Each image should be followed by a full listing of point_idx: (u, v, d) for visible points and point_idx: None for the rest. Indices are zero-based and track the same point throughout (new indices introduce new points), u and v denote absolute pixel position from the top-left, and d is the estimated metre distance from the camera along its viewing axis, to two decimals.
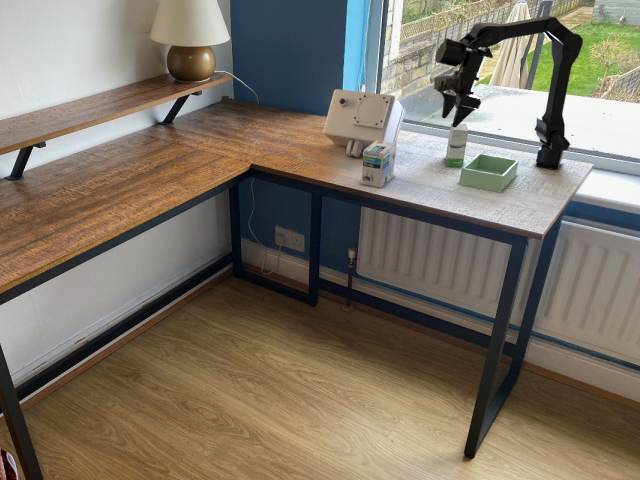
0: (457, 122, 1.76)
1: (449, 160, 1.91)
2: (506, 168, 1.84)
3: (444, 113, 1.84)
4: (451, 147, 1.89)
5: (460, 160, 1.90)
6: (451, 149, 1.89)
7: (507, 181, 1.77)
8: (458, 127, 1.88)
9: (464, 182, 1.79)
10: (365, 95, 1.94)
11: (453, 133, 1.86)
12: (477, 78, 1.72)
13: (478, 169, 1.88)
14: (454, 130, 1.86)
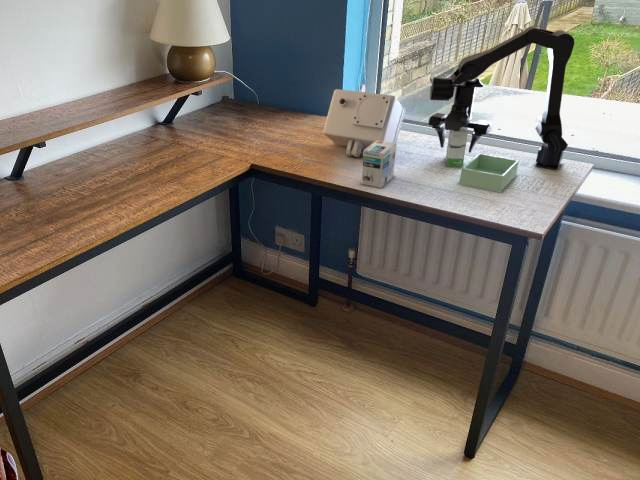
0: (472, 147, 1.89)
1: (449, 160, 1.91)
2: (506, 168, 1.84)
3: (442, 143, 1.94)
4: (451, 147, 1.89)
5: (460, 160, 1.90)
6: (451, 149, 1.89)
7: (507, 181, 1.77)
8: None
9: (464, 182, 1.79)
10: (365, 95, 1.94)
11: (453, 133, 1.86)
12: (473, 104, 1.85)
13: (478, 169, 1.88)
14: None
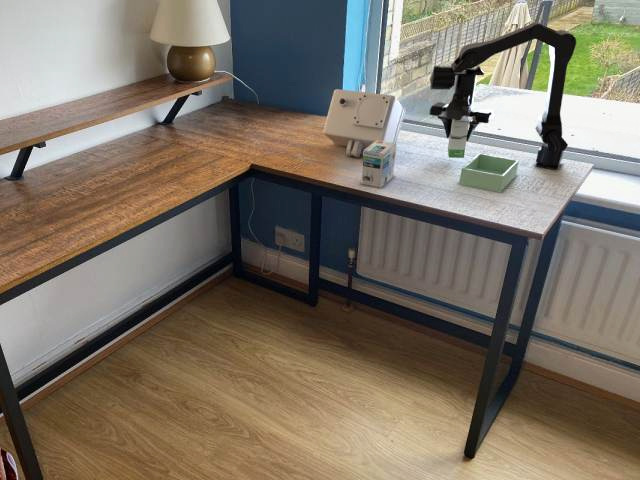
0: (470, 135, 1.88)
1: (450, 151, 1.89)
2: (506, 168, 1.84)
3: (448, 133, 1.92)
4: (452, 138, 1.87)
5: (461, 151, 1.89)
6: (452, 140, 1.88)
7: (507, 181, 1.77)
8: None
9: (464, 182, 1.79)
10: (365, 95, 1.94)
11: (454, 124, 1.85)
12: (474, 93, 1.84)
13: (478, 169, 1.88)
14: (455, 121, 1.85)
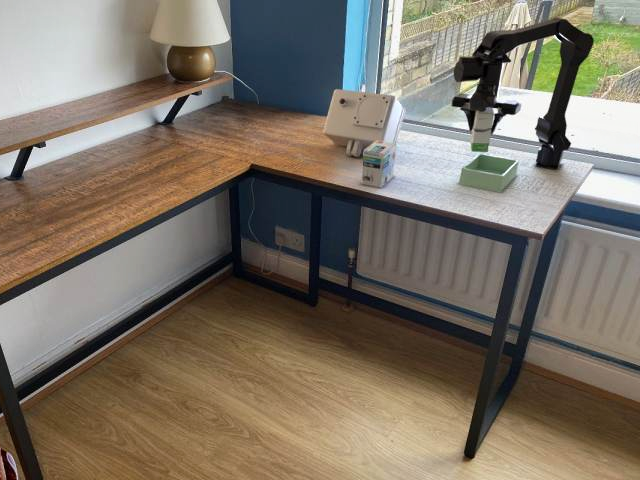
0: (495, 128, 1.77)
1: (473, 145, 1.79)
2: (506, 168, 1.84)
3: (471, 126, 1.81)
4: (475, 131, 1.77)
5: (485, 145, 1.78)
6: (475, 133, 1.77)
7: (507, 181, 1.77)
8: None
9: (464, 182, 1.79)
10: (365, 95, 1.94)
11: (477, 116, 1.74)
12: (500, 83, 1.73)
13: (478, 169, 1.88)
14: (479, 112, 1.74)
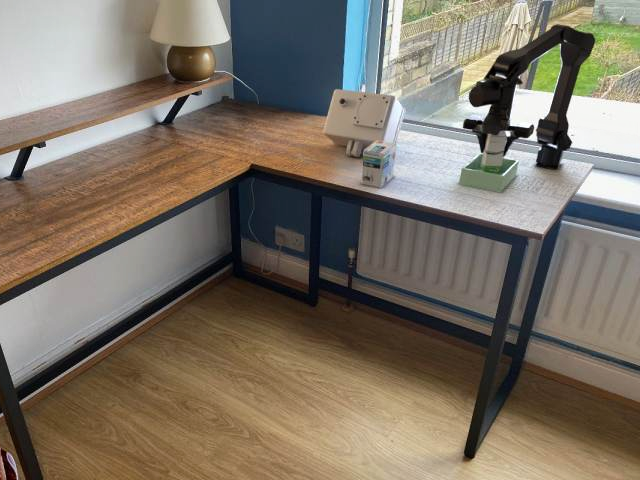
0: (507, 150, 1.75)
1: (485, 168, 1.76)
2: (506, 168, 1.84)
3: (482, 148, 1.78)
4: (487, 154, 1.74)
5: (498, 168, 1.75)
6: (487, 156, 1.74)
7: (507, 181, 1.77)
8: None
9: (464, 182, 1.79)
10: (365, 95, 1.94)
11: (490, 139, 1.72)
12: (512, 105, 1.70)
13: (478, 169, 1.88)
14: (491, 135, 1.71)
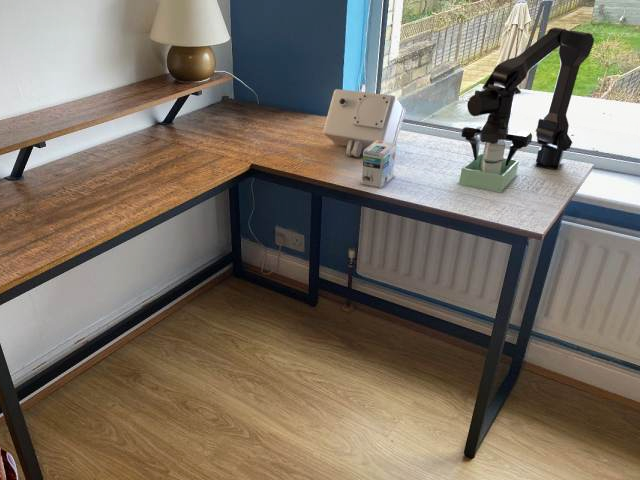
0: (510, 160, 1.75)
1: None
2: (506, 168, 1.84)
3: (476, 155, 1.80)
4: (486, 162, 1.75)
5: None
6: (486, 164, 1.76)
7: (507, 181, 1.77)
8: None
9: (464, 182, 1.79)
10: (365, 95, 1.94)
11: (489, 147, 1.73)
12: (510, 114, 1.72)
13: (478, 169, 1.88)
14: (490, 144, 1.73)
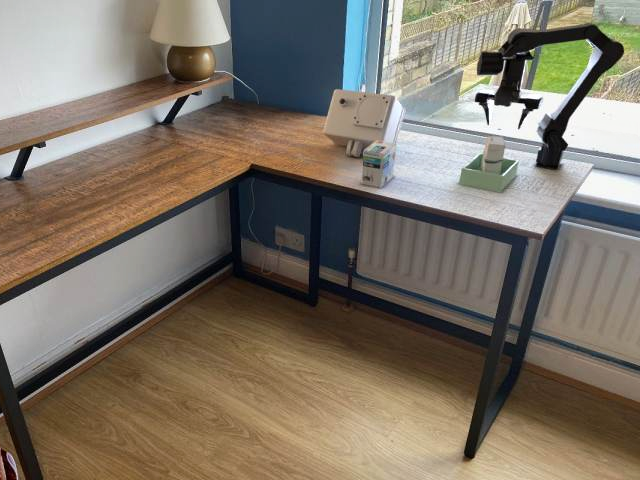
0: (522, 123, 1.83)
1: None
2: (506, 168, 1.84)
3: (489, 120, 1.87)
4: (486, 162, 1.75)
5: None
6: (486, 164, 1.76)
7: (507, 181, 1.77)
8: (494, 141, 1.75)
9: (464, 182, 1.79)
10: (365, 95, 1.94)
11: (489, 147, 1.73)
12: (522, 79, 1.79)
13: (478, 169, 1.88)
14: (490, 144, 1.73)
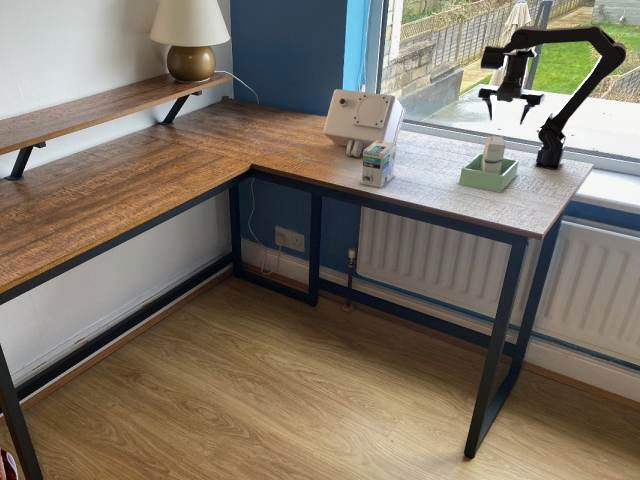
0: (524, 118, 1.87)
1: None
2: (506, 168, 1.84)
3: (492, 115, 1.92)
4: (486, 162, 1.75)
5: None
6: (486, 164, 1.76)
7: (507, 181, 1.77)
8: (494, 141, 1.75)
9: (464, 182, 1.79)
10: (365, 95, 1.94)
11: (489, 147, 1.73)
12: (525, 75, 1.83)
13: (478, 169, 1.88)
14: (490, 144, 1.73)
